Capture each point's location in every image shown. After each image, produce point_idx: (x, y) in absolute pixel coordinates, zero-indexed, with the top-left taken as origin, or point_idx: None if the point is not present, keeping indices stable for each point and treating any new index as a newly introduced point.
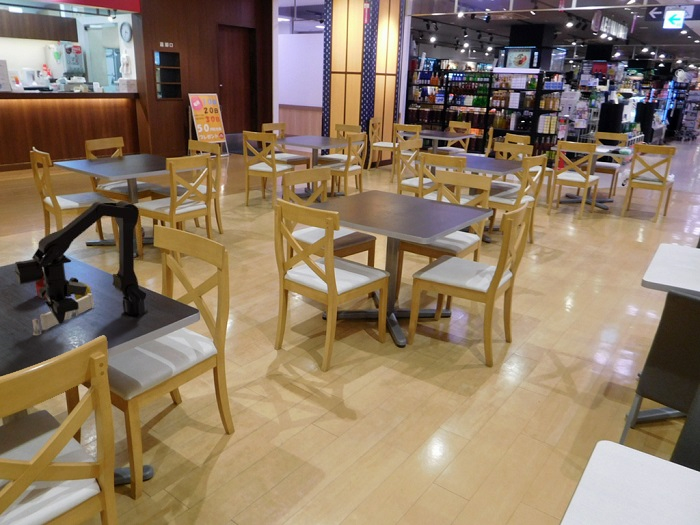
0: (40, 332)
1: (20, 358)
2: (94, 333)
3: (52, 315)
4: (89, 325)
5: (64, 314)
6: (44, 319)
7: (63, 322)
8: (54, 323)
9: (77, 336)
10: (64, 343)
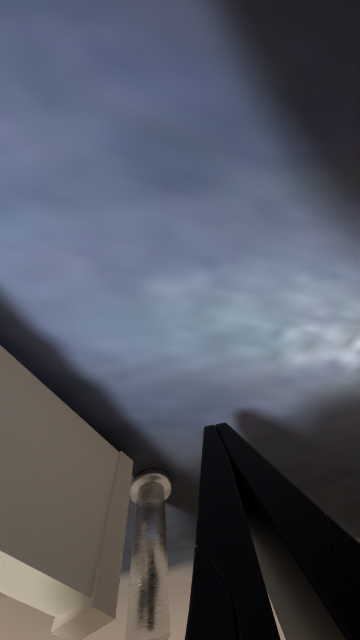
0: (156, 480)
1: (339, 520)
2: (330, 221)
3: (49, 514)
4: (181, 211)
5: (331, 525)
6: (120, 556)
7: (228, 426)
8: (78, 428)
9: (301, 323)
10: (334, 390)
